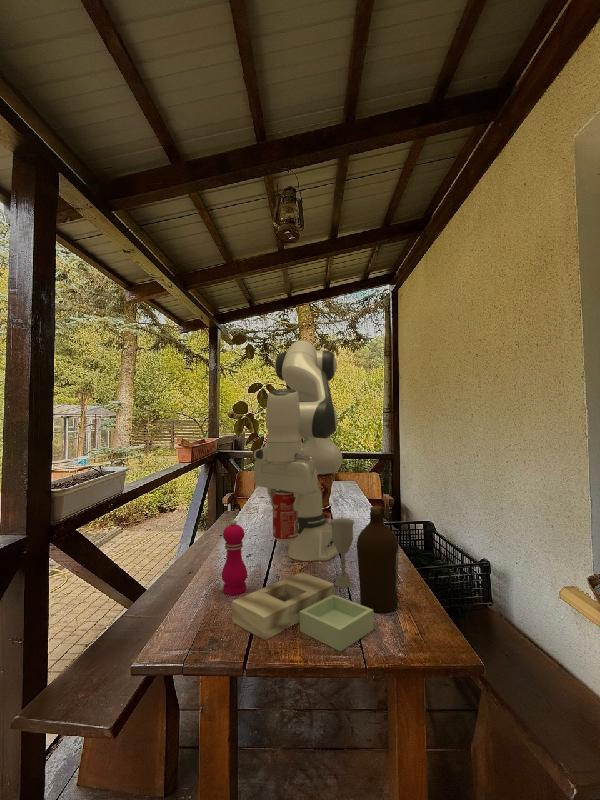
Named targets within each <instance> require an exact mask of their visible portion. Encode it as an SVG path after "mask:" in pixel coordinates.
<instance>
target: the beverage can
mask: <svg viewBox="0 0 600 800" xmlns="http://www.w3.org/2000/svg"><path fill="white" fill-rule="evenodd" d="M295 498H296V497H294V493H293V492H287V491H282V490H277V491H275V495H274V496H273V498H272V500H273V506H272V536H273V538H274V539H275V540H276V541H277V542H279V543H289V542H292V541H294V540H295V539H296V537H297V536H298V511H293V510H292V509H291V508H292V506H291V503H294V501H295Z"/></svg>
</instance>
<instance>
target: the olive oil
mask: <svg viewBox="0 0 600 800" xmlns="http://www.w3.org/2000/svg"><path fill="white" fill-rule="evenodd" d="M369 510H370V511H369V519H370V521H369V523H368V524H367V525H366V526H365V527H364V528H363V529H362V530H361V531H360V532H359V534H358V536H357V540H356V555H357V567H358V581H359V595H360V597H359V598H360V599H359V600H360V605H363V606H365V607H368V608H370V609H373V613H376V612H378V613H377V614H387V613H391V612H394V611H395V610H396V609H397V608H398V605H399V602H398V595H399V594H398V593H399V592H398V591H399V590H398V588H399V583H398V581H399V543H398V538H397V536H396V535H395V533H394V532H393V531H392V529H390V527H388V525H386V523H385V522H384V512H383V510H384V509H383V506H380V505H379V506H378V505H373V506H370V508H369ZM393 610H394V611H393ZM386 612H387V613H386Z"/></svg>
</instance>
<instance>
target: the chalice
mask: <svg viewBox="0 0 600 800" xmlns="http://www.w3.org/2000/svg"><path fill="white" fill-rule="evenodd" d="M329 523H330V526H331V527H332V540H333V542H334V545H335V547H336V549H337V551H338V553H339V554H340V555H341V558H340V560H339V561H340V563H341V565H340V567H339V568H340V569H341V573H340V574H338V576H337V577H336V580H335V582H334V584H335V586H336V587H339V588H345V589H346V588H350V587H352V586H353V582H352V580H351V577H350V576H349V574H347V573H346V568H347V566H346V561H347V560H346V558H345V556H346V554H348V553H349V550H350V548H351V547H352V544H353V541H354V524H355V520H354V519H351V518H346V517H345V518H332V519H330V520H329Z"/></svg>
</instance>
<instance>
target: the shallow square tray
mask: <svg viewBox="0 0 600 800" xmlns="http://www.w3.org/2000/svg"><path fill="white" fill-rule="evenodd" d="M374 618H375V617H374V612H373V609H370V608H368V607H365V606H363V605H361V603H357V602H354V601H351V600H349V599H347V598H344V597H341V596H339V595H336V594H335V595H334V594H333V595H331V596H329V597H327V598H325V599H323V600H321V601H319V602H317V603H315V604H313V605H311V606H309V607H307V608H305V609H303V610H301V611H300V622H299V632H301V633H303V634H304V635H306V636H308V637H310V638H313V639H314V640H317V641H319V642H320V643H323V644H324V645H326V646H329V647H330V648H333V649H335V651H336V650H337V651H339V652H342V651H344V650H346V649H347V648H348V647H350V646H351V645H353V644H354V643H356V642H357V641H359V640H360V639H362V638H363V637H365V636H367V635H368V634H369V633H370V631H371V632H373V631H374V630H373V629H375V624H374V622H375V621H374ZM367 633H368V634H367Z"/></svg>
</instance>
